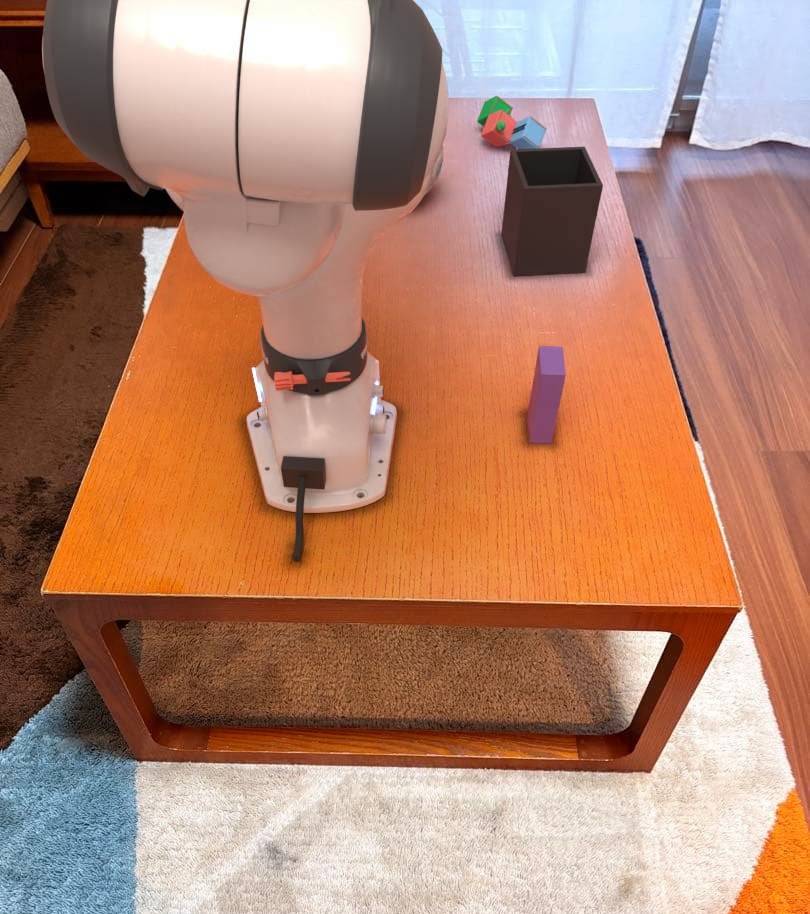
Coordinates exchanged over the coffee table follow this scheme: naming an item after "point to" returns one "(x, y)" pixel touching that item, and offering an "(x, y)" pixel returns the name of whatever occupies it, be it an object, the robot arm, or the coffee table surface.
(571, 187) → the trash can
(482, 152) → the coffee table surface
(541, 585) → the coffee table surface
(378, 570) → the coffee table surface
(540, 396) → the purple rectangular block
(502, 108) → the building blocks
